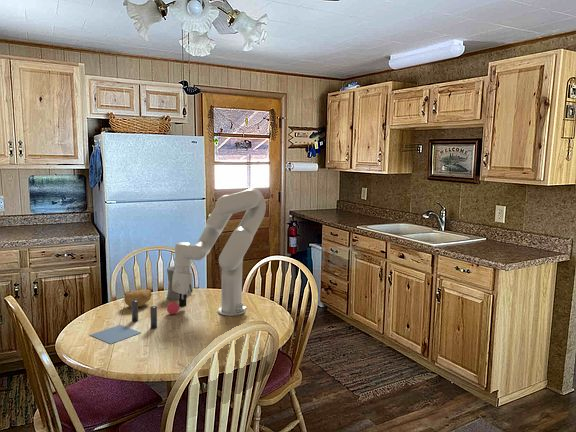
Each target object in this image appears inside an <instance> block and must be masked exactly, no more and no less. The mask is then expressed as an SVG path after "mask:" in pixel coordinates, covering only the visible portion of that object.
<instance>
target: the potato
mask: <svg viewBox="0 0 576 432" xmlns="http://www.w3.org/2000/svg"><path fill="white" fill-rule="evenodd" d="M151 298H152V291H151V290H150V289H147V288H146V289H145V288H143V289H142V288H141V289H137V290H133V291H130V292H126V294H125V295H124V298H123V300H124V303H125V304H126V306H127V307H131V308H132V301H133V300H138V308H141V307H143V306H145V305H146V304H147V303H148V302H149V301H150V299H151Z"/></svg>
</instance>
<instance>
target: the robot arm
mask: <svg viewBox="0 0 576 432" xmlns="http://www.w3.org/2000/svg"><path fill="white" fill-rule="evenodd" d="M266 211H267V204H266V200H265V197H264V195H263V193H262V192H261V191H260V190H259V189H257V188H255V187H250V188H247V189H246V190H242V191H238V192H235V193H231V194H224V195H222V196H220V197H219V198H218V199H216V201H215V206H214V208H213V210H212V212H211V213H210V215H209V216H208V218H207V220H206V222H205V228H204V230H203V231H202V234H201V235H200V237H199V239H198V240H197V242H195V244H191V243H190V242H188V241H187V242H186V241H182V242H181V241H180V242H176V243H175V246H174V263H175V264H174V266H175V271H174V273H173V279H172V290H173V291H174V292H175V293H177V295H178V298H179V299H178V305H179V308H186V307H187V299H188V297H192V292H193V291H194V280H193V273H192V260H193V261H201V260H204V259H205V258H206V257H207V256H208V255H209V253H210V251H211V250H212V248H213V247H214V245H215V244H216V241H217V240H218V238H219V236H220V235H221V234H222V232H223V230H224V228H225V227H226V225H227V224H228V223H229V221H230V219H231V217H232V216H233V215H234V214H237V213H240V212H245V213H244V215H243V216H242V218H241V221H240V222H239V224H238V225H237V227H236V228H235V229H234V230H233V231H232V233H231V235H230V237H228V240H227V242H226V243H225V245H224V247H223V249H222V250H221V253H220V254H219V257H218V265H219V266H220V268H221V296H220V297H221V301H220V302H221V303H220V307H219V308H218V309H217V312H218V313H219V314H220V315H222V316H227V317H234V316H235V317H236V316H241V315H243V314H244V313H246V312H247V310H248V307H246V306H244V302H243V301H242V300H243V294H242V293H243V264H244V263H243V262H244V257H245V254H246V253H247V251H248V249H249V248H250V246H251V244H252V243H253V240H254V237H255V235H256V233H257V231H258V230H259V227H260V225H261V224H262V222H263V219H264V218H265V215H266Z"/></svg>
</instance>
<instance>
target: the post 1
mask: <svg viewBox="0 0 576 432" xmlns="http://www.w3.org/2000/svg"><path fill="white" fill-rule="evenodd" d="M131 322H134V323H137V322H139V307H138V300H133V301H132V307H131Z"/></svg>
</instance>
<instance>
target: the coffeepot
mask: <svg viewBox="0 0 576 432" xmlns="http://www.w3.org/2000/svg"><path fill="white" fill-rule="evenodd" d="M174 271H175V262H174V265H173V266H167V268H166V272H167V278H168V282H169V285H168V288H167V293H166V297H167V298H168V299H169V300H179V298H178V295H177V293H175V292H174V291H173V290H172V279H173V273H174Z"/></svg>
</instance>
